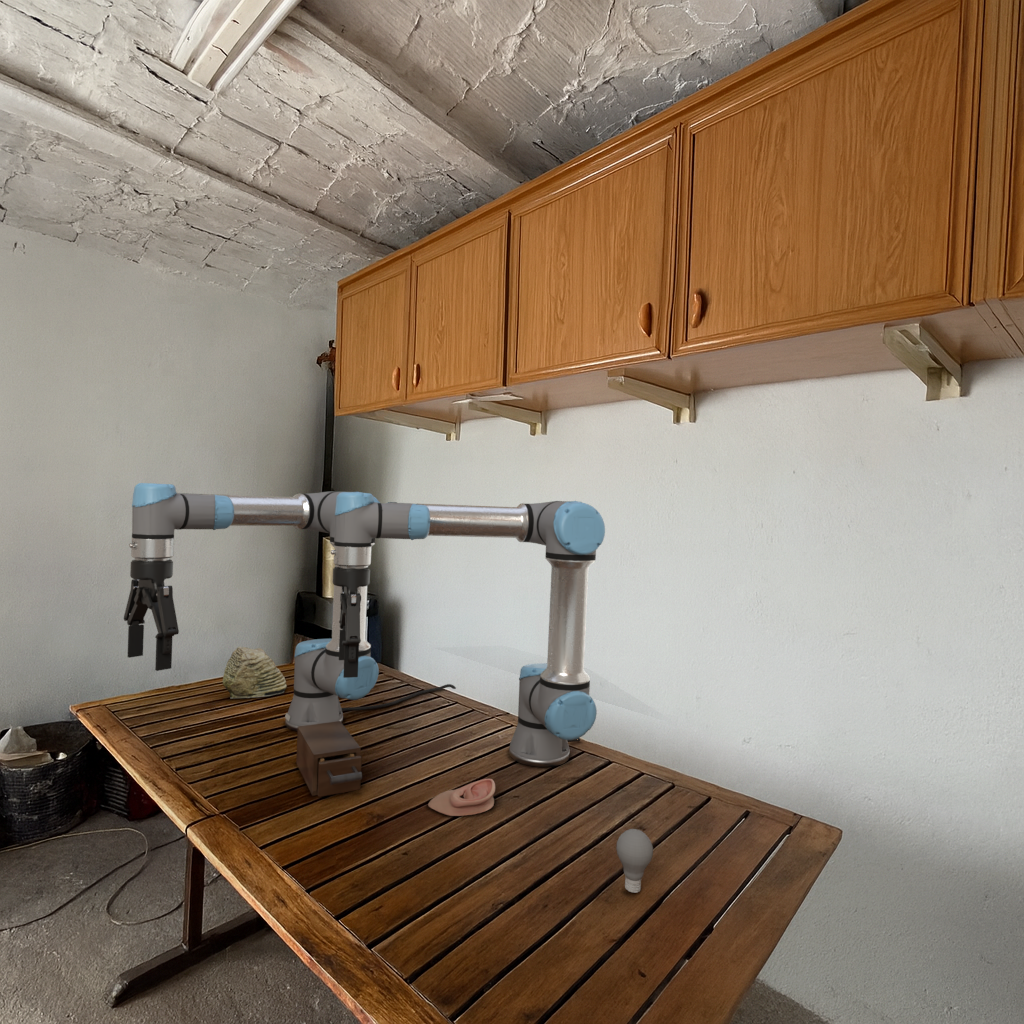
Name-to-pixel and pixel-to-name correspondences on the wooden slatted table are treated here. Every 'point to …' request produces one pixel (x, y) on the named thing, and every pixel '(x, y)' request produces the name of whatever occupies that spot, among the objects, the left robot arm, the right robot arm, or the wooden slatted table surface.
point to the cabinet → (321, 748)
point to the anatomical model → (466, 799)
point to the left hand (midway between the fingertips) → (148, 662)
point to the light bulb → (634, 857)
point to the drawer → (338, 774)
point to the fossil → (252, 674)
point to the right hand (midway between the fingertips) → (347, 668)
